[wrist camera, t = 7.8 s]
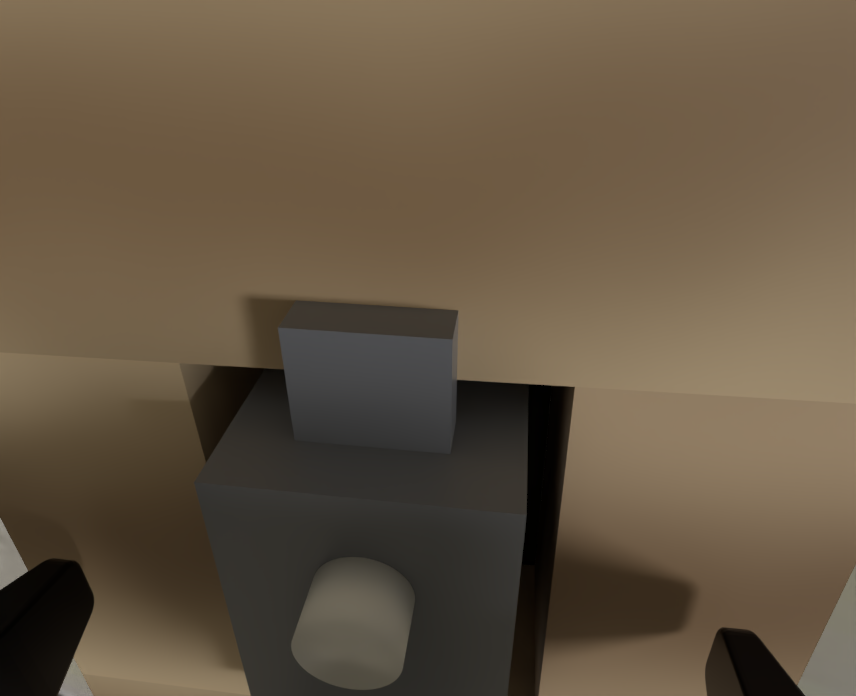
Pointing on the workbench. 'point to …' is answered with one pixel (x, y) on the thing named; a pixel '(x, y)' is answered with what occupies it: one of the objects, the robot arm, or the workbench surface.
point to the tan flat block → (443, 296)
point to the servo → (371, 511)
